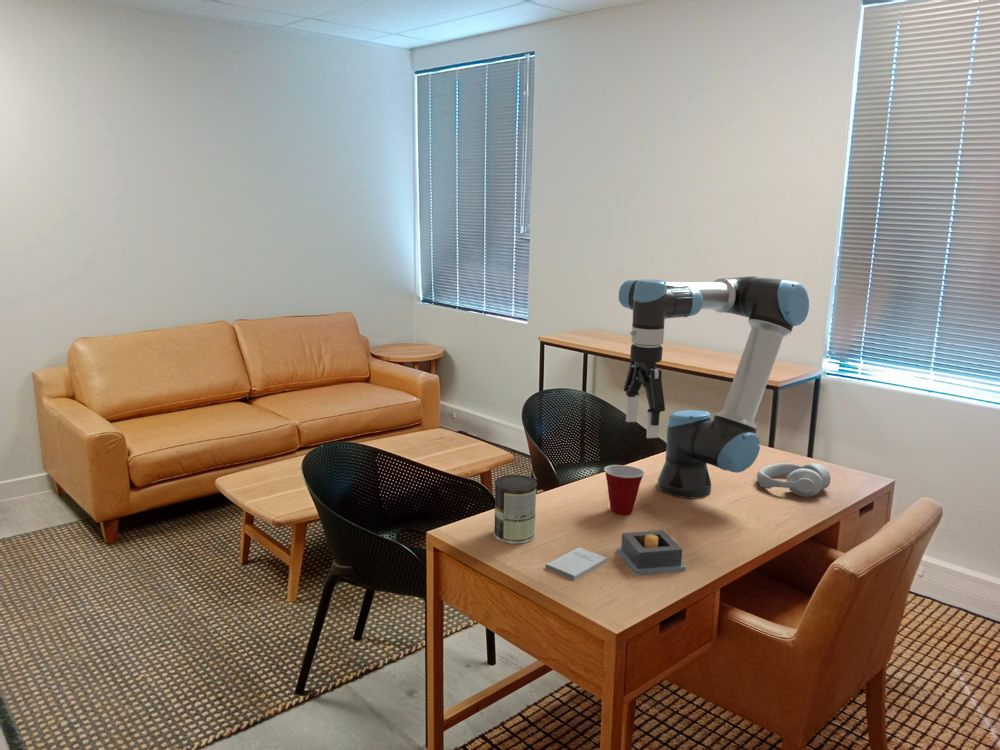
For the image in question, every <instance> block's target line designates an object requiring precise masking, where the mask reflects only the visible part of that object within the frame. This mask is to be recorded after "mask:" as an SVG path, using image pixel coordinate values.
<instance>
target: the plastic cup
mask: <svg viewBox="0 0 1000 750" xmlns="http://www.w3.org/2000/svg"><path fill="white" fill-rule="evenodd" d="M603 471H604V473H605V476H606V477H605V478H606V483H607V484H606V485H607V493H608V499H609V507H610V511H611V513H612V514H614V515H616V516H625V517H626V516H630V515H632V514H633V512H634V508H635V505H636V504H635V503H636V501H637V497H638V493H639V489H640V484H641V481H642V478H643V477H644V475H645V471H644V470H643V469H641V468H638V467H635V466H631V465H622V464H621V465H619V464H612V465H610V464H609V465H607V466H604V468H603Z"/></svg>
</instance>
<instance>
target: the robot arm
mask: <svg viewBox="0 0 1000 750" xmlns="http://www.w3.org/2000/svg"><path fill="white" fill-rule="evenodd" d="M618 301H619V303H620V305H621V306H622V307H624V308H625V309H629V310H632V323H631V324H632V326H631V331H630V332H629V333H630V335H631V341H630V342H631V343H632V344H631V345H630V357H629V358H630V360H629V361H630V362H629V368H628V372H627V375H626V380H625V383H624V385H623V391H624V392H625V393H626V396H627V398H626V409H625V410H626V411H625V412H626V413H625V422H626V423H636V422H638V411H639V409H638V407H639V395H640V389H641V388H642V387H643V388H644V390H645V394H646V399H647V403H648V409H647V424H646V439H655V438H656V439H657V438H659V431H660V415H661V412H665V411H666V405H665V399H664V398H665V397H664V391H663V389H664V388H663V380H662V375H663V374H662V370H661V369H656V364H657V363H660V362H661V361H662V359H663V349H664V348H663V346H662V345H663V344H664V339H665V338H664V336H665V319H666V320H667V319H675V318H688V317H692V316H695V315H697V314H698V313H699V312H700V311H701V310H713V311H715V312H716V313H720V314H721V313H722V314H723V313H727V314H733V315H737V316H740V317H745V318H748V321H747V322H748V325H749V326H750V328H751V329H750V332H749V335H748V338H747V341H746V343H745V346H744V348H743V350H742V354H741V358H740V360H739V363H738V364H737V365H738V367H737V369H736V371H735V375H734V377H733V380H732V383H731V386H730V389H729V390H728V394H727V397H726V400H725V403H724V405H723V409H722V410H721V411H719V412H717V413H715V414H714V416H713V420H712V416H711V415H712V414H711V413H710V412H708V411H705V410H699V409H698V410H694V409H693V410H692V409H690V410H689V409H686V410H679V411H675V412H673V413H671V414H670V415H669V417H668V423H667V427H666V428H667V430H666V432H667V433H666V449H665V462H664V464H663V466H662V468H661V471H660V473H659V476H658V477H657V488H658V489H659V490H660V491H661V492H663V493H665V494H668V495H669V496H674V497H677V498H686V499H690V498H691V499H693V498H694V499H696V498H702V497H706V496H708V495H710V494H711V491H712V481H711V478H710V473H709V469H708V465H710V466H713V467H716V468H719V469H720V470H723V471H726V472H727V471H728V472H731V473H736V474H737V473H742V472H744V471H745V470H747V469H749V468H750V467H751V466H752V465H753V464H754V463H755V461H757V458H758V456H759V453H760V451H761V450H760V449H761V445H760V443H761V442H760V441H761V440H760V438H759V437H758V436H757V434H756V433H757V430H758V427H757V425H756V424H755V423H756V422H755V418H756V416H757V414H758V413H757V412H758V410H759V408H760V404H761V402H762V398H763V396H764V392H765V390H766V387H767V384H768V381H769V379H770V376H771V373H772V369H773V367H774V364H775V362H776V359H777V356H778V353H779V350H780V349H781V348H780V347H781V344H782V342H783V339H784V338H785V337H787V336H789V335H791V333H792V332H793V328H794V327H798V326H800V325H802V323H803V322H805V321H806V319H807V317H808V314H809V310H810V298H809V295H808V291H807V289H806V288H805V286H804V285H803V284H802V283H800V282H797V281H793V280H789V279H778V278H770V277H769V278H768V277H760V276H742V277H741V276H740V277H728V278H723V277H722V278H717V279H715V280H714V281H665V280H662V279H661V280H660V279H639V280H638V279H634V280H633V279H629V280H626V281H624V282H623V283H622V284H621V286H620V288H619V290H618ZM707 464H708V465H707Z"/></svg>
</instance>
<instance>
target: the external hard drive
mask: <svg viewBox="0 0 1000 750" xmlns="http://www.w3.org/2000/svg"><path fill="white" fill-rule="evenodd" d="M605 563H607V558H606V557H605V556H603V555H601V554H598V553H596V552H593V551H589V550H587V549H585V548H582V547H580V546H579V547H576V548H574V549H572V550H570V551H569V552H567V553H565V554H562V555H561V556H559V557H557V558H556V559H554V560H552V561H549V562H548V563H546V564H545V565H544V566H545V569H546V570H548V571H551V572H553V573H556V574H557V575H561V576H563V577H565V578H568V579H570V580H572V581H576V580H577V579H579V578H581V577H583V576H584V575H586V574H588V573H589V572H591V571H594V569H596V568H598V567H600V566H601V565H603V564H605Z"/></svg>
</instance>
